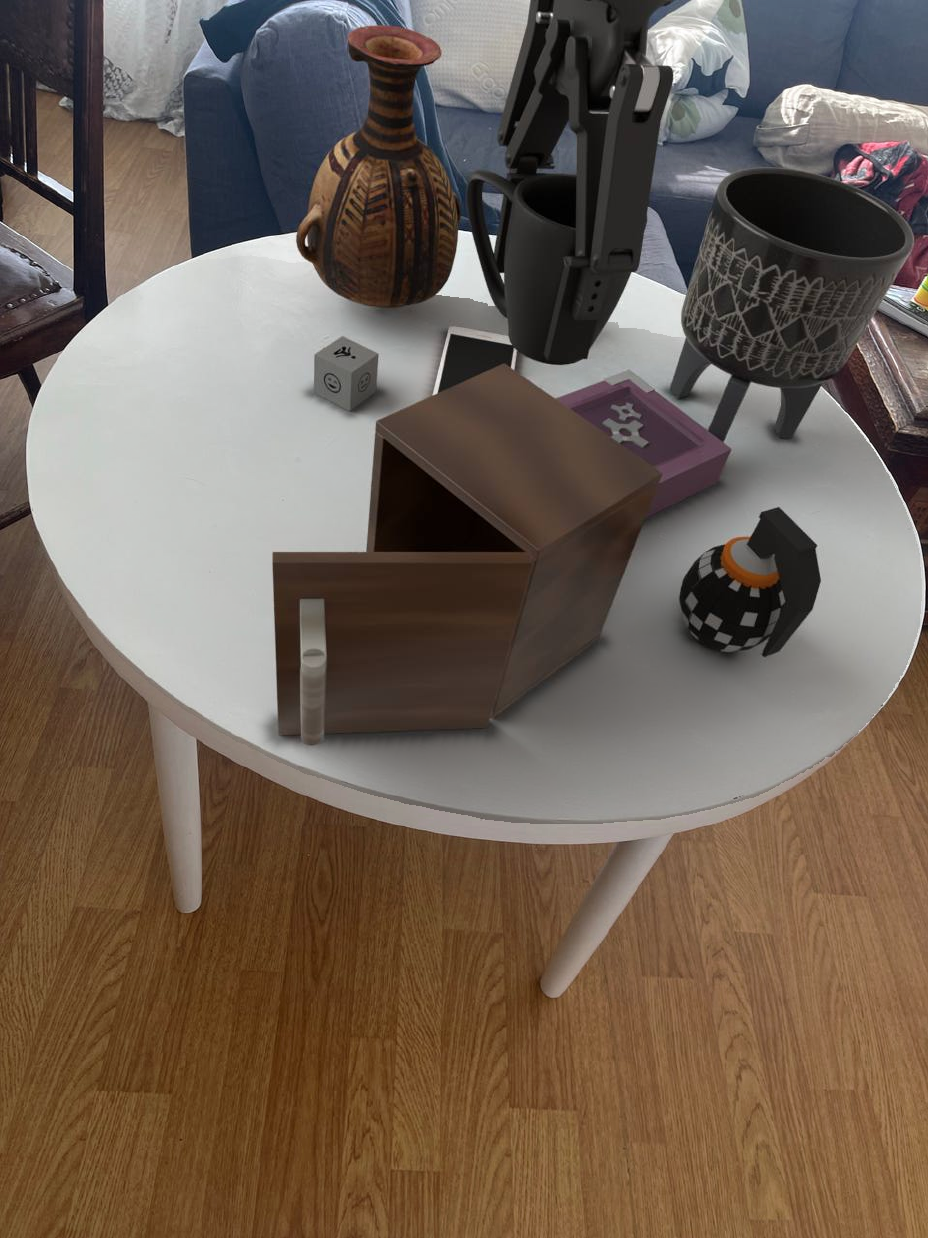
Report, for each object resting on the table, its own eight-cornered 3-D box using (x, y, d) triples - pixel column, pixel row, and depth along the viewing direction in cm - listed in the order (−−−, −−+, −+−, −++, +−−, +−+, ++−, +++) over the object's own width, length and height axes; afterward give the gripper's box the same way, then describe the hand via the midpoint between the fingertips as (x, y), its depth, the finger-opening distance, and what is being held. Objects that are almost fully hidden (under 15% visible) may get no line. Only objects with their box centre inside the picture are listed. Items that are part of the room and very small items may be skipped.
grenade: (796, 669, 84) (872, 556, 73) (718, 700, 80) (786, 586, 69) (721, 585, 90) (781, 468, 79) (646, 610, 86) (698, 492, 75)
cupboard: (492, 719, 76) (539, 550, 61) (362, 598, 82) (375, 420, 68) (598, 640, 83) (663, 472, 68) (470, 535, 90) (504, 362, 75)
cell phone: (428, 415, 102) (429, 408, 101) (448, 331, 114) (449, 324, 113) (505, 429, 102) (507, 422, 101) (517, 344, 114) (519, 337, 113)
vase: (439, 267, 124) (470, 16, 102) (475, 342, 113) (518, 79, 91) (282, 268, 118) (278, 3, 96) (304, 347, 107) (305, 68, 85)
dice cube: (340, 373, 105) (342, 335, 101) (375, 391, 103) (378, 353, 100) (313, 392, 102) (314, 354, 98) (349, 411, 100) (351, 372, 97)
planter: (775, 386, 116) (872, 177, 96) (824, 488, 103) (948, 270, 83) (628, 374, 113) (697, 156, 93) (660, 477, 100) (748, 249, 80)
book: (618, 404, 108) (629, 369, 104) (717, 483, 101) (732, 447, 97) (450, 471, 96) (456, 433, 92) (549, 565, 89) (560, 528, 85)
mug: (491, 276, 66) (515, 140, 59) (629, 347, 62) (672, 209, 55) (420, 313, 61) (437, 169, 54) (565, 392, 57) (604, 248, 50)
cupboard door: (498, 789, 71) (549, 629, 56) (278, 800, 68) (271, 633, 53) (485, 718, 75) (530, 551, 61) (278, 725, 72) (272, 551, 58)
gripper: (814, -29, 38) (657, 409, 54) (606, -155, 51) (531, 227, 68) (656, -42, 36) (543, 418, 52) (482, -170, 49) (436, 229, 66)
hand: (536, 310), depth 60 cm, fingers closed on mug, 10 cm apart
